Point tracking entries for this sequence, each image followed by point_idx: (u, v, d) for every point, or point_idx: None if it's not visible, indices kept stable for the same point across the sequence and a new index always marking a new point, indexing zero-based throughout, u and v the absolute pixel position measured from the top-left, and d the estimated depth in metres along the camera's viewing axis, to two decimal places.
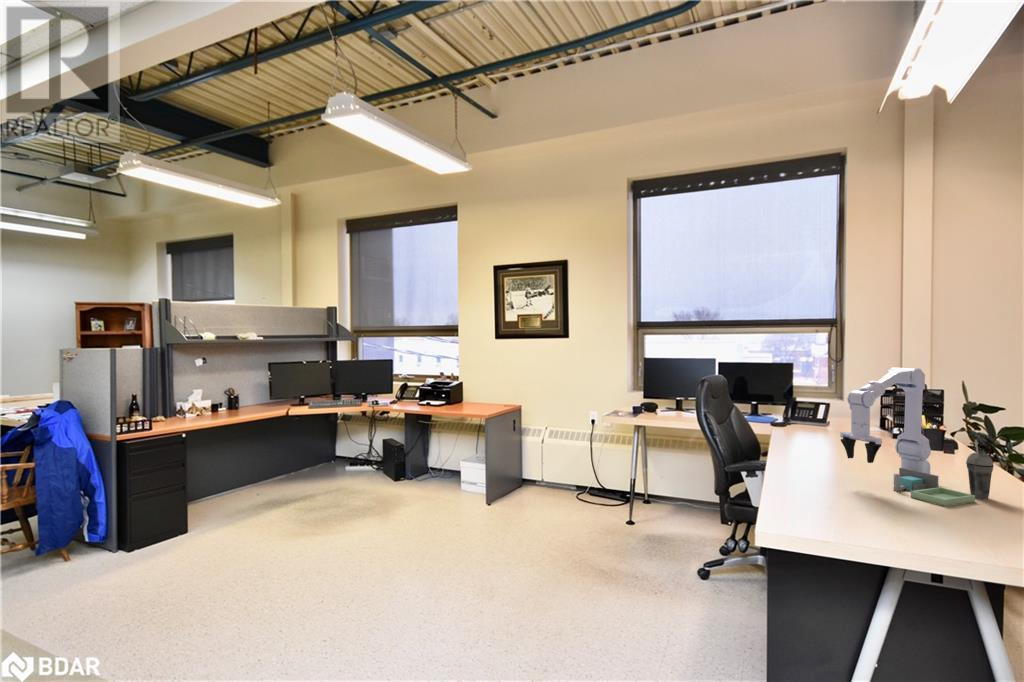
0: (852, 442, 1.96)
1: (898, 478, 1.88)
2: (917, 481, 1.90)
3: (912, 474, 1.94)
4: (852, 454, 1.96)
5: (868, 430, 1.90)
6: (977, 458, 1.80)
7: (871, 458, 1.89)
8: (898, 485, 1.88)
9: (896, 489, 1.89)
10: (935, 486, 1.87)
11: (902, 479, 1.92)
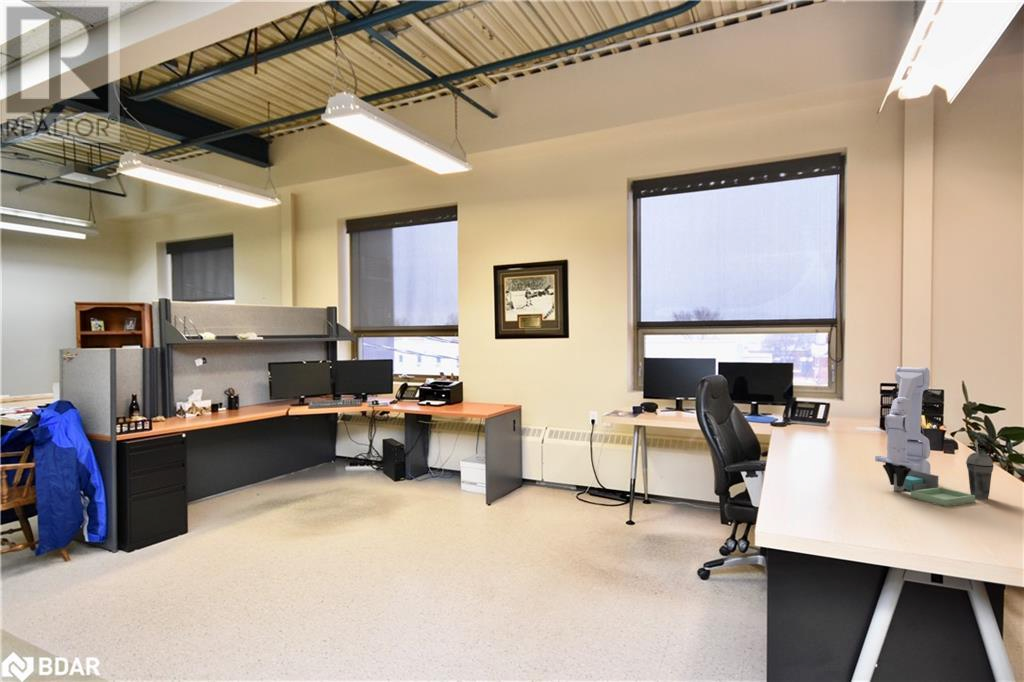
0: (895, 468, 1.90)
1: None
2: (917, 481, 1.90)
3: (912, 474, 1.94)
4: None
5: (905, 455, 1.87)
6: (977, 458, 1.80)
7: (901, 482, 1.88)
8: None
9: (896, 489, 1.88)
10: (935, 486, 1.87)
11: None
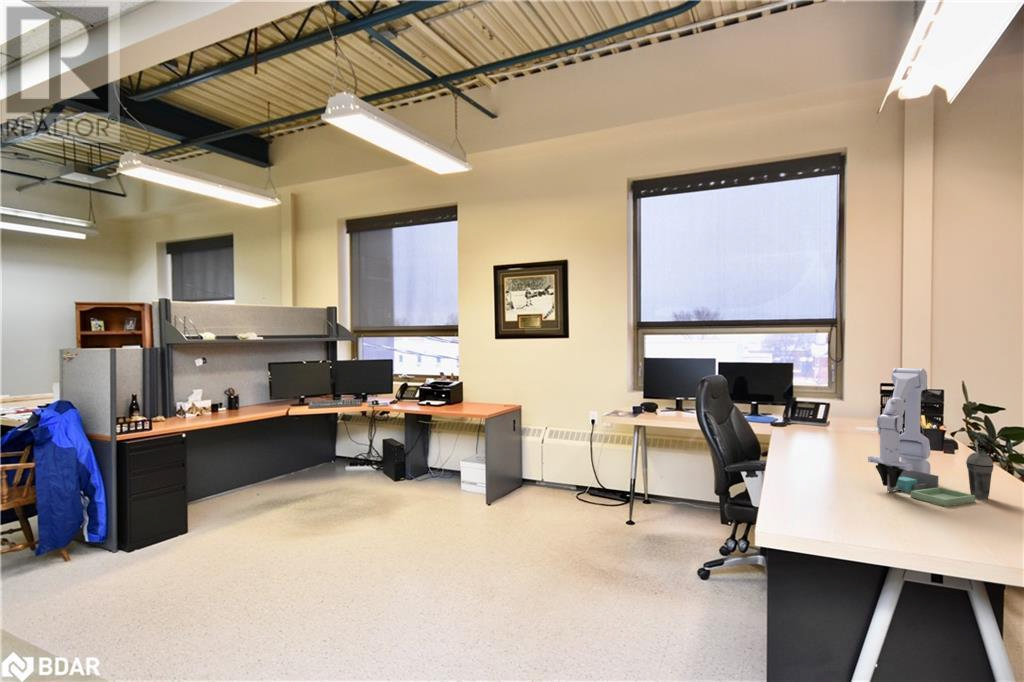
0: None
1: None
2: (911, 482, 1.88)
3: (912, 474, 1.94)
4: None
5: (898, 456, 1.85)
6: (977, 458, 1.80)
7: (894, 482, 1.86)
8: None
9: (889, 490, 1.87)
10: (935, 486, 1.87)
11: None
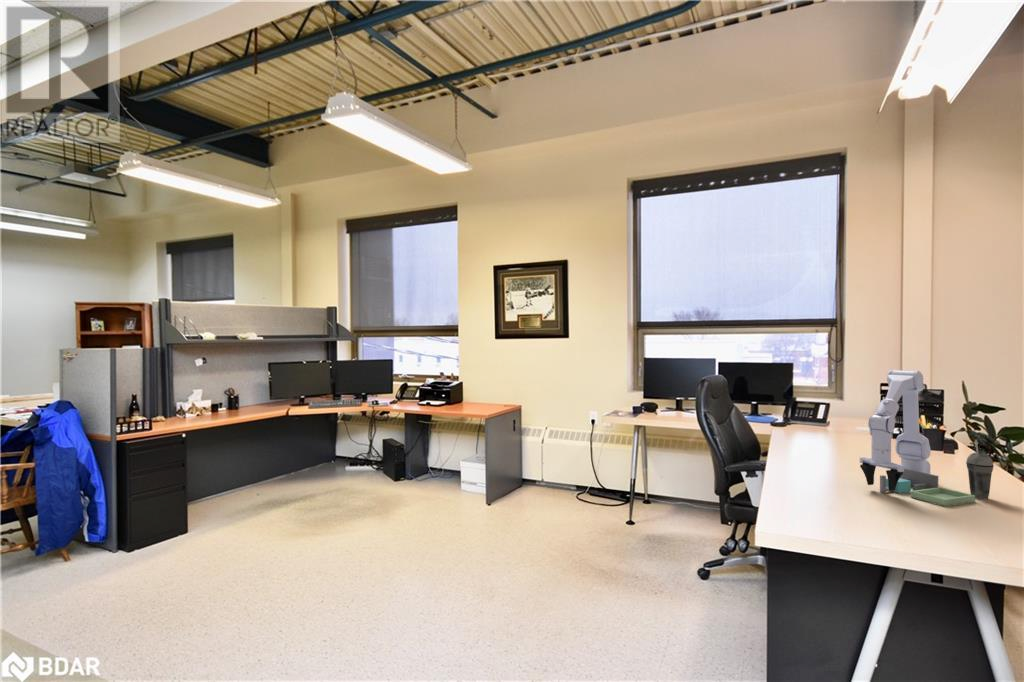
0: (872, 468, 1.90)
1: (884, 480, 1.86)
2: (904, 483, 1.87)
3: (912, 474, 1.94)
4: (872, 480, 1.90)
5: (889, 456, 1.84)
6: (977, 458, 1.80)
7: (893, 486, 1.82)
8: (884, 487, 1.86)
9: (882, 491, 1.86)
10: (935, 486, 1.87)
11: None
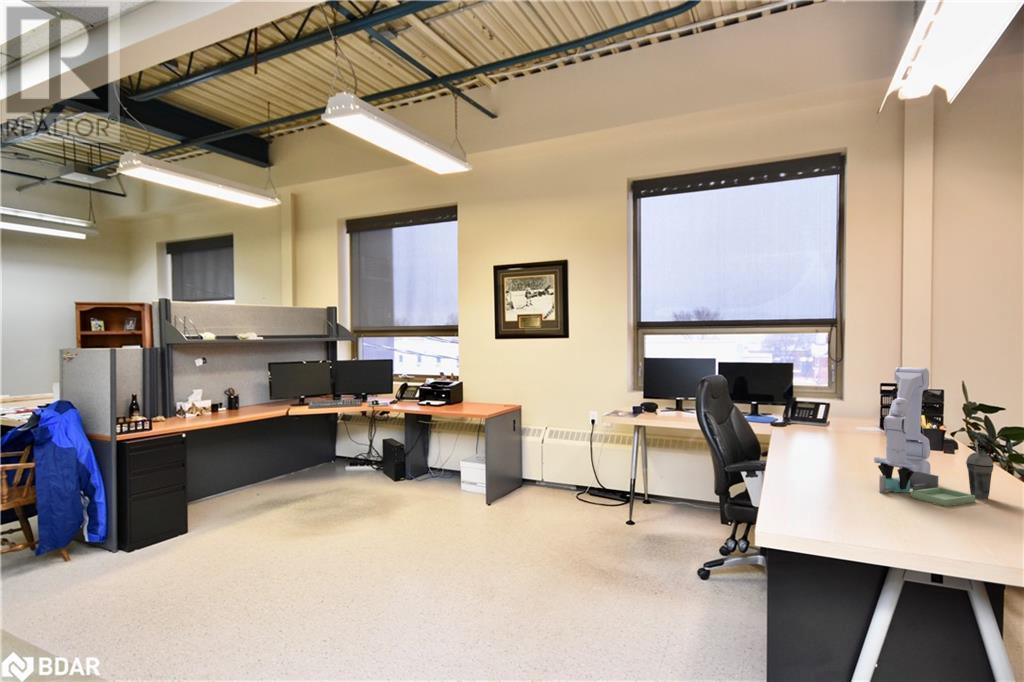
0: (890, 468, 1.92)
1: (884, 480, 1.86)
2: None
3: (912, 474, 1.94)
4: None
5: (904, 456, 1.87)
6: (977, 458, 1.80)
7: (904, 484, 1.86)
8: (884, 487, 1.86)
9: (882, 491, 1.86)
10: (935, 486, 1.87)
11: (888, 481, 1.89)
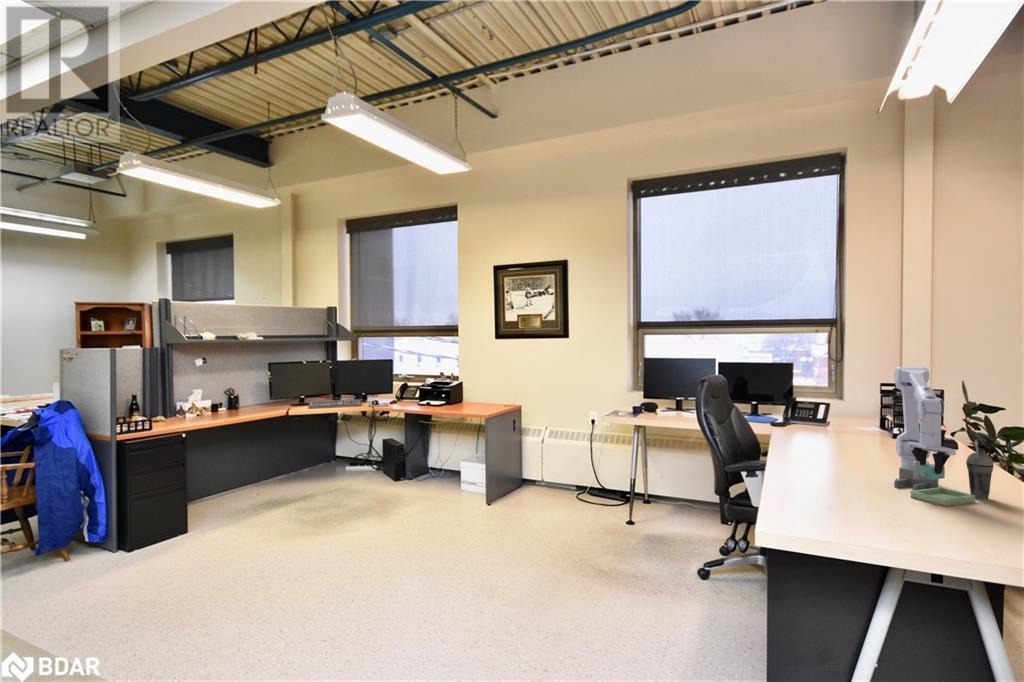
0: (924, 453, 1.85)
1: (918, 466, 1.80)
2: None
3: (912, 474, 1.94)
4: None
5: (939, 440, 1.80)
6: (977, 458, 1.80)
7: (939, 469, 1.80)
8: (918, 473, 1.80)
9: (916, 477, 1.80)
10: (935, 486, 1.87)
11: (922, 467, 1.83)
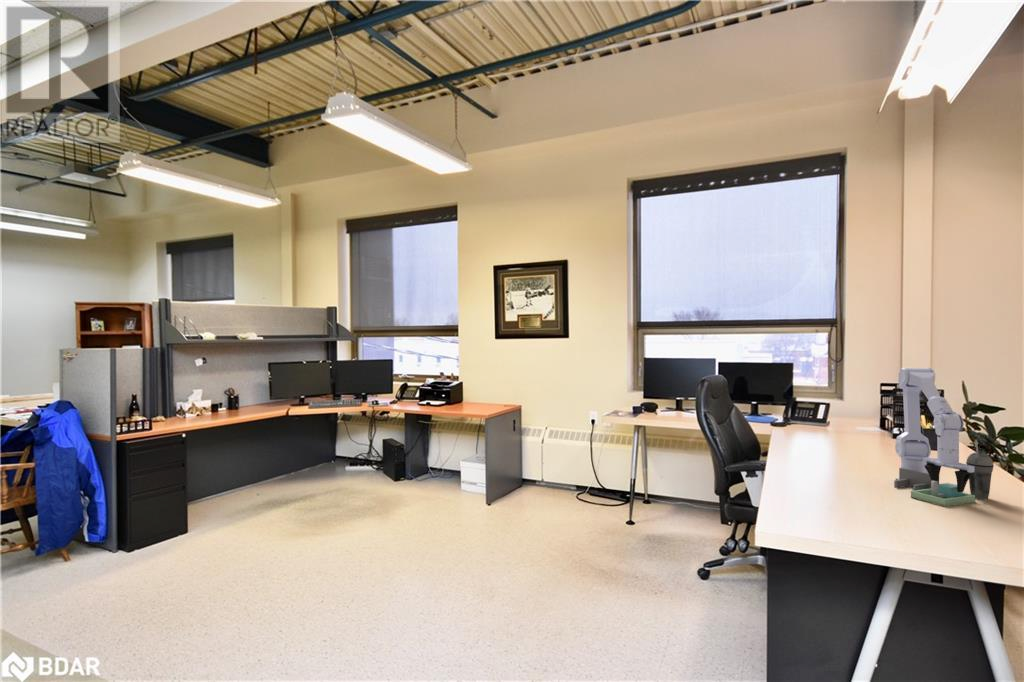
0: (937, 468, 1.83)
1: (936, 486, 1.77)
2: (956, 489, 1.78)
3: (912, 474, 1.94)
4: None
5: (957, 457, 1.77)
6: (977, 458, 1.80)
7: (962, 487, 1.76)
8: (936, 493, 1.76)
9: None
10: None
11: (940, 486, 1.80)
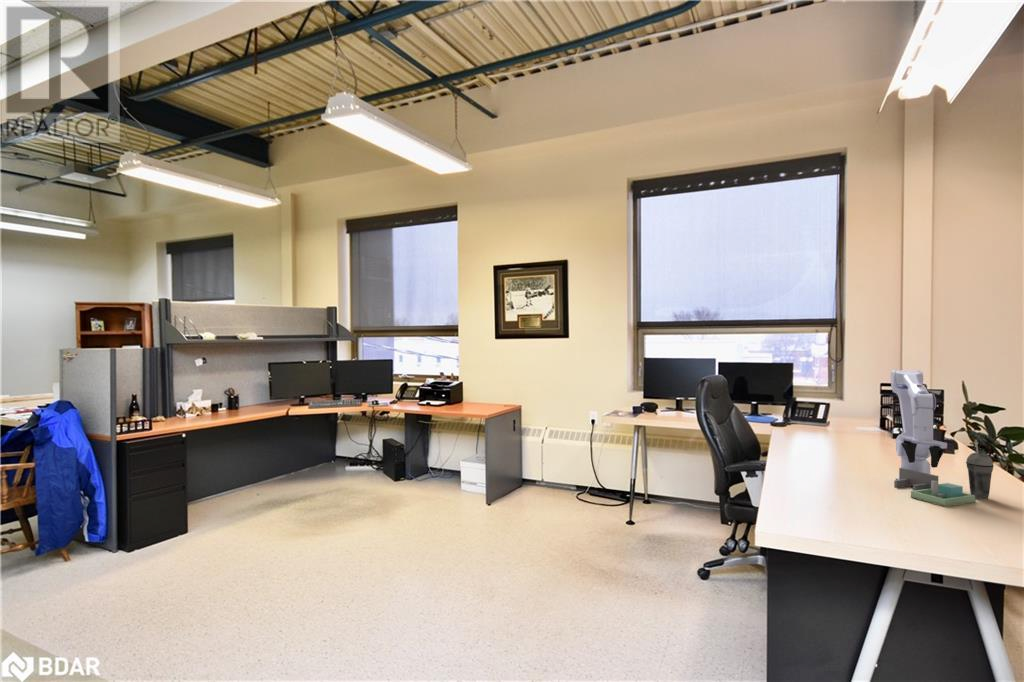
0: (913, 446, 1.93)
1: (936, 486, 1.77)
2: (956, 489, 1.78)
3: (912, 474, 1.94)
4: (913, 458, 1.93)
5: (931, 434, 1.87)
6: (977, 458, 1.80)
7: (935, 462, 1.85)
8: (936, 493, 1.76)
9: None
10: None
11: (940, 486, 1.80)
